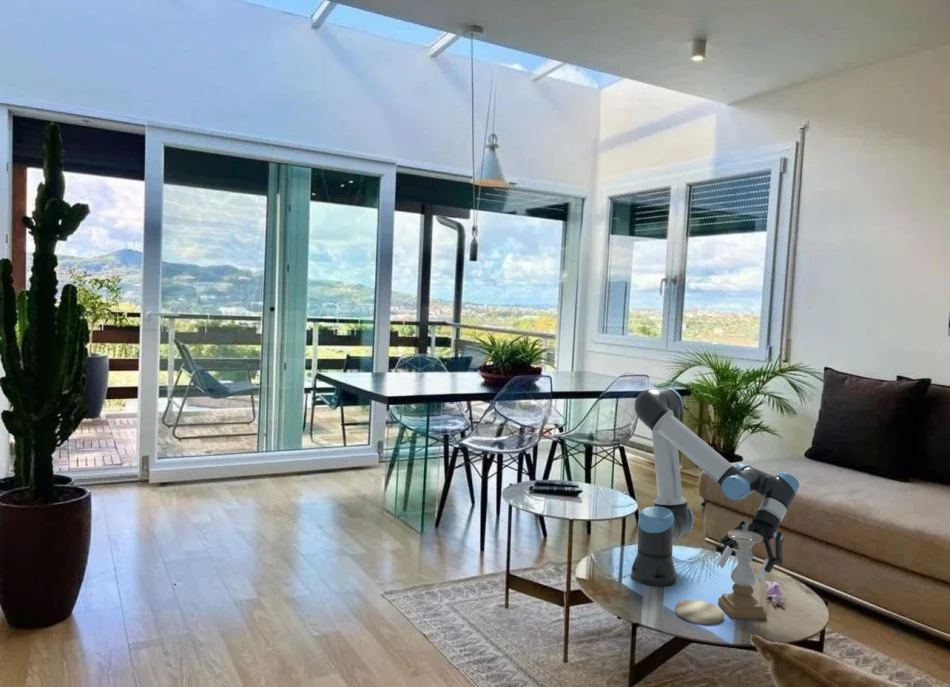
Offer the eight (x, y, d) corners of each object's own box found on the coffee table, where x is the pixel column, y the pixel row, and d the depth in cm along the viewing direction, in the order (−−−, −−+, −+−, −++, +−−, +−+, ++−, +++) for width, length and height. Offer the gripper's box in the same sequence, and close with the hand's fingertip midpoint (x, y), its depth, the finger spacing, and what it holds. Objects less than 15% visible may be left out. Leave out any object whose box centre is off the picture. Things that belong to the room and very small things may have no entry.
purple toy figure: (789, 613, 211) (780, 587, 226) (791, 596, 210) (781, 571, 224) (768, 611, 213) (760, 585, 227) (769, 593, 212) (761, 569, 226)
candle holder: (751, 603, 214) (755, 529, 213) (767, 619, 203) (771, 541, 202) (717, 603, 214) (720, 528, 213) (731, 618, 203) (735, 540, 202)
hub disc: (666, 612, 206) (667, 609, 206) (688, 599, 216) (688, 596, 216) (711, 628, 196) (711, 624, 196) (731, 614, 206) (731, 610, 206)
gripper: (811, 533, 207) (781, 593, 199) (738, 513, 227) (709, 566, 219) (803, 519, 203) (772, 579, 195) (730, 499, 223) (700, 553, 215)
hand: (739, 572), depth 207 cm, fingers open, 12 cm apart
